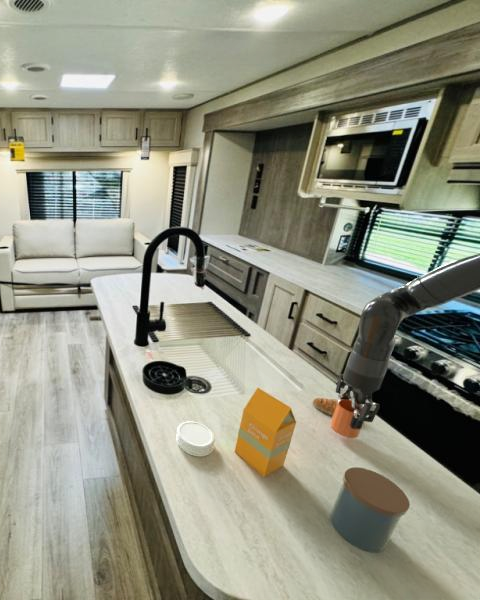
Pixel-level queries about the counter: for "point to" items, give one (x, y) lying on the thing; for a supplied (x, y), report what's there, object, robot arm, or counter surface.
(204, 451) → the white round tub
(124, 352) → the counter surface
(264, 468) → the orange juice
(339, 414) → the cup
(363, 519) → the jar
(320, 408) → the pastry
